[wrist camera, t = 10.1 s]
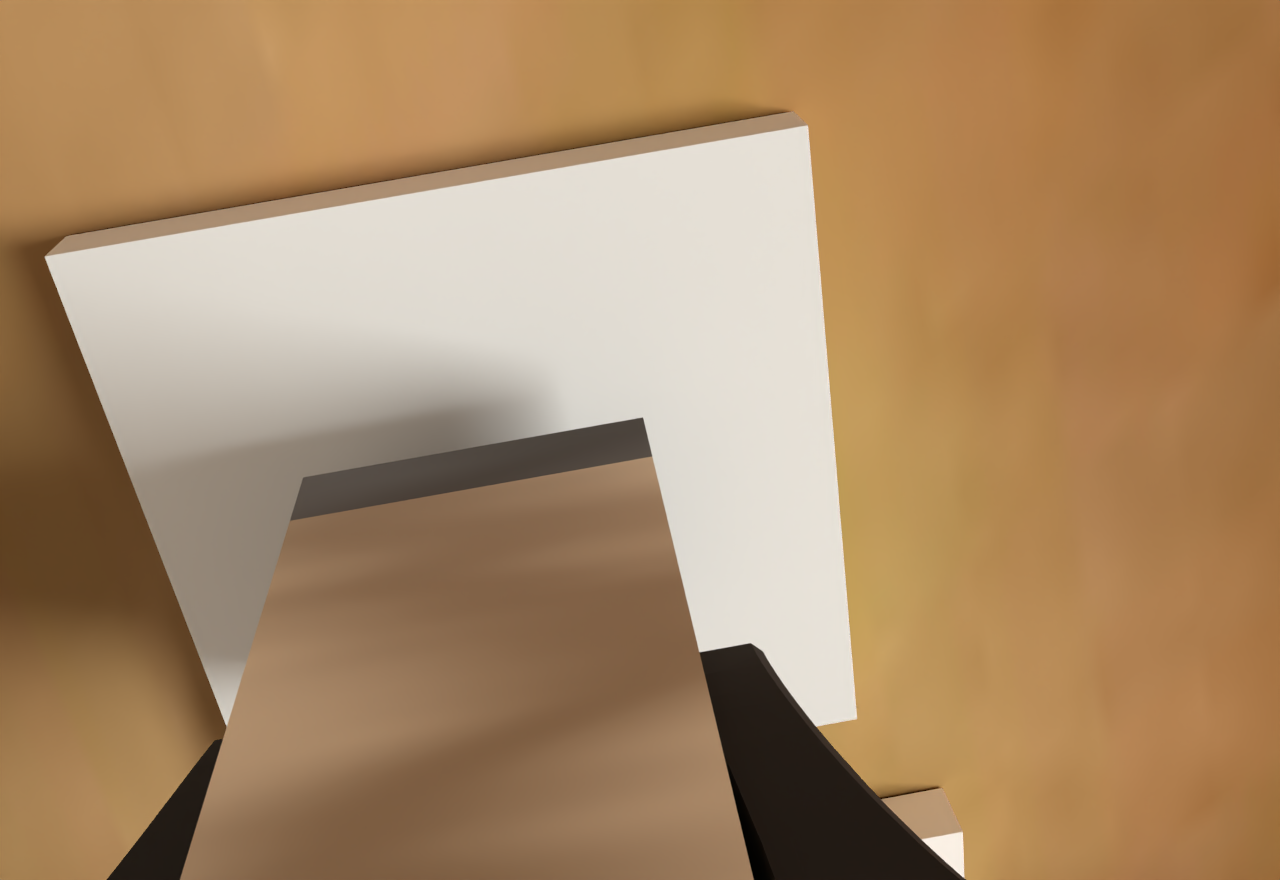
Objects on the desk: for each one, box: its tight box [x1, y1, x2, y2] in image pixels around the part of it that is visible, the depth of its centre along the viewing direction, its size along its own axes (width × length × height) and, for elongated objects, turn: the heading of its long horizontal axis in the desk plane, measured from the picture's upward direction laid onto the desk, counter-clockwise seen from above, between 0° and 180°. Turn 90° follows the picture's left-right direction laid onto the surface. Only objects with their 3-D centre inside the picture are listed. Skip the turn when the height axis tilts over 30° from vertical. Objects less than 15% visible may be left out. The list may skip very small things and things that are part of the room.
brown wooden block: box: [180, 417, 754, 880], centre depth 11 cm, size 4×4×9 cm
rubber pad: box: [45, 111, 857, 726], centre depth 17 cm, size 9×9×1 cm
